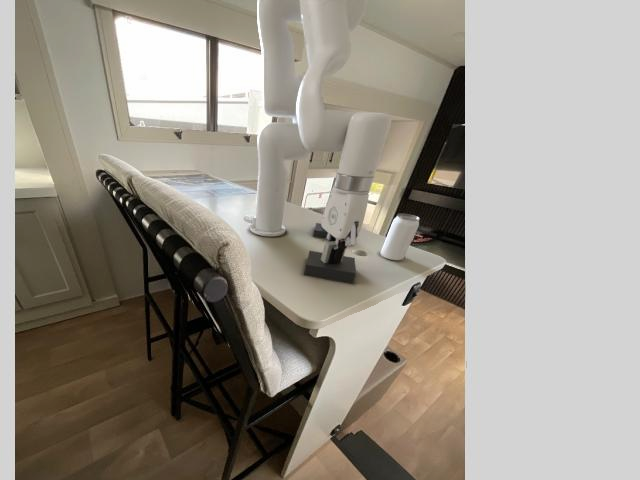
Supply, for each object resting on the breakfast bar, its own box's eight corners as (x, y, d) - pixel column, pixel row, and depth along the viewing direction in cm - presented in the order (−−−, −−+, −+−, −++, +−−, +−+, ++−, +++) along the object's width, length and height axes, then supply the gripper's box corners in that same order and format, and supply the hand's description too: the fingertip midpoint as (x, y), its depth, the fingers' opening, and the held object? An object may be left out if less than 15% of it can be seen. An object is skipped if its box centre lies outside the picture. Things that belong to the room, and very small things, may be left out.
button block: (312, 236, 87) (315, 224, 85) (314, 228, 93) (317, 217, 91) (343, 240, 85) (346, 229, 82) (342, 232, 91) (345, 221, 89)
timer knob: (324, 263, 64) (329, 244, 61) (320, 259, 65) (325, 240, 62) (341, 262, 65) (347, 243, 62) (337, 258, 66) (343, 239, 63)
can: (406, 262, 73) (425, 221, 66) (382, 259, 74) (399, 219, 67) (399, 253, 78) (416, 214, 71) (377, 250, 79) (392, 212, 72)
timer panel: (303, 274, 65) (306, 264, 63) (307, 260, 72) (309, 250, 70) (352, 283, 62) (356, 273, 60) (351, 267, 69) (354, 257, 67)
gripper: (320, 176, 60) (305, 248, 71) (358, 192, 47) (333, 276, 58) (348, 176, 61) (329, 246, 72) (392, 192, 49) (362, 274, 59)
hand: (331, 259), depth 65 cm, fingers closed on timer knob, 2 cm apart
